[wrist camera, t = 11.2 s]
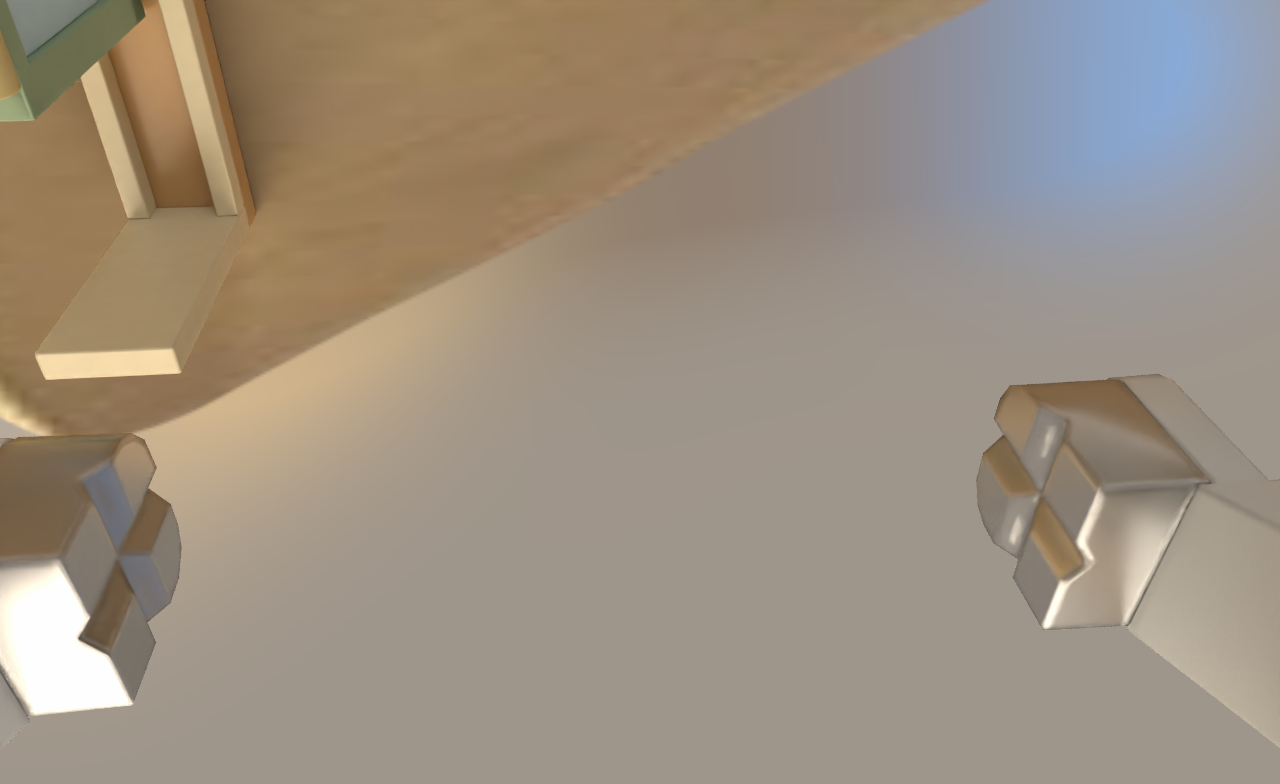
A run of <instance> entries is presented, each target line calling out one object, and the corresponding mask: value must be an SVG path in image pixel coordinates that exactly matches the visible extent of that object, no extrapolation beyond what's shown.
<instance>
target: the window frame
mask: <svg viewBox="0 0 1280 784" xmlns="http://www.w3.org/2000/svg"><path fill="white" fill-rule="evenodd" d="M141 1H142V4H143V8H144V11H145V15H146V17H145V18H144V19H143V20H142V21H141V22H140V23H139V24H138V25H136V26H135V27H134V28H133V29H132V30H131V31H130V32H129V33H128V34H126V35H125V36H124V37H123V38H122V39H121V40H120V41H119V42H118V43H117V44H116V45H115V46H114V47H112V48H111V49H110V50H109V51H108V52H107V53H106V54H105V55H104V56H103V57H102V58H101V59H100V60H98V61H97V62H96V63H95V64H94V65H93V66H92V67H91V68H90V69H89V70H88V71H87V72H86V73H84V74H83V75H82V76H81V77H80V78H81V81H82V84H83V87H84V90H85V93H86V96H87V99H88V102H89V105H90V107H91V110H92V113H93V116H94V119H95V122H96V125H97V128H98V131H99V134H100V137H101V140H102V143H103V146H104V149H105V152H106V155H107V158H108V161H109V164H110V167H111V170H112V173H113V176H114V179H115V182H116V185H117V188H118V191H119V194H120V197H121V200H122V203H123V206H124V209H125V212H126V215H127V218H128V219H129V220H128V221H127V223H126V224H125V226H124V227H123V228H122V230H121V231H120V233H119V234H118V236H117V237H116V238H115V240H114V241H113V243H112V244H111V246H110V247H109V248H108V250H107V251H106V253H105V254H104V255H103V257H102V258H101V260H100V261H99V263H98V264H97V265H96V267H95V268H94V270H93V271H92V273H91V274H90V275H89V277H88V278H87V280H86V281H85V282H84V284H83V285H82V287H81V288H80V290H79V291H78V292H77V294H76V295H75V297H74V298H73V300H72V301H71V302H70V304H69V305H68V307H67V308H66V309H65V311H64V312H63V314H62V315H61V317H60V318H59V319H58V321H57V322H56V324H55V325H54V327H53V328H52V329H51V331H50V332H49V334H48V335H47V336H46V338H45V339H44V341H43V342H42V344H41V345H40V346H39V348H38V349H37V351H36V352H35V357H36V359H37V362H38V364H39V366H40V368H41V371H42V373H43V375H44V377H45V379H47V380H50V379H71V378H92V377H113V376H134V375H156V374H177V373H181V372H182V370H183V368H184V365H185V363H186V361H187V359H188V357H189V355H190V353H191V351H192V349H193V346H194V344H195V342H196V340H197V338H198V336H199V334H200V332H201V330H202V327H203V325H204V323H205V321H206V319H207V317H208V315H209V313H210V310H211V308H212V306H213V304H214V302H215V300H216V298H217V296H218V294H219V291H220V289H221V287H222V285H223V283H224V281H225V279H226V277H227V275H228V272H229V270H230V268H231V266H232V264H233V262H234V260H235V258H236V256H237V253H238V251H239V249H240V247H241V245H242V243H243V241H244V239H245V237H246V234H247V232H248V230H249V228H250V226H251V224H252V222H253V220H254V218H255V216H256V210H255V206H254V202H253V198H252V194H251V190H250V186H249V182H248V178H247V174H246V170H245V166H244V162H243V158H242V153H241V149H240V145H239V141H238V137H237V133H236V129H235V125H234V121H233V117H232V113H231V109H230V105H229V100H228V96H227V92H226V88H225V84H224V80H223V76H222V72H221V68H220V64H219V60H218V56H217V52H216V47H215V43H214V39H213V35H212V31H211V27H210V23H209V19H208V15H207V11H206V7H205V3H204V0H141Z"/></svg>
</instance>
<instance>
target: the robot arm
mask: <svg viewBox="0 0 1280 784" xmlns="http://www.w3.org/2000/svg"><path fill="white" fill-rule="evenodd" d="M994 420H995V422H996V423H997V425H998V427H999V428H1000V430H1001V432H1002V433H1003V436H1002V437H1000V438H999V439H998V440H997V441H996V442H995V443H994V444H993V445H992V446H991V447H990V448H988V449H987V450H986V451H985V452H984V453H983V456H982V460H981V464H980V468H979V472H978V476H977V499H978V507H979V511H980V514H981V517H982V521H983V524H984V526H985V528H986V530H987V532H988V534H989V536H990V537H991V539H992V541H993V543H994V544H995V545H997V546H998V547H1000V548H1002V549H1003V550H1005V551H1006V552H1008V553H1010V554H1011V555H1012V556H1014V557H1015V558H1017V559H1018V562H1017V565H1016V569H1015V572H1014V575H1013V579H1014V580H1015V582H1016V584H1017V586H1018V587H1019V589H1020V591H1021V593H1022V594H1023V596H1024V598H1025V600H1026V601H1027V603H1028V605H1029V606H1030V608H1031V610H1032V612H1033V614H1034V615H1035V617H1036V619H1037V621H1038V622H1039V624H1040V626H1041V627H1042V629H1043V630H1057V629H1074V628H1093V627H1112V626H1129V627H1128V631H1130V632H1131V633H1132V634H1134V635H1135V636H1136V637H1137V638H1139V639H1140V640H1141V641H1143V642H1144V643H1145V644H1147V645H1148V646H1149V647H1150V648H1152V649H1153V650H1154V651H1156V652H1157V653H1158V654H1159V655H1161V656H1162V657H1163V658H1165V659H1166V660H1167V661H1168V662H1170V663H1171V664H1172V665H1174V666H1175V667H1176V668H1177V669H1179V670H1180V671H1181V672H1183V673H1184V674H1185V675H1187V676H1188V677H1189V678H1190V679H1192V680H1193V681H1194V682H1196V683H1197V684H1198V685H1199V686H1201V687H1202V688H1203V689H1205V690H1206V691H1207V692H1208V693H1210V694H1211V695H1212V696H1214V697H1215V698H1216V699H1218V700H1219V701H1220V702H1221V703H1223V704H1224V705H1225V706H1227V707H1228V708H1230V710H1232V711H1233V712H1234V713H1236V714H1237V715H1238V716H1239V717H1241V718H1242V719H1244V720H1245V721H1246V722H1247V723H1249V724H1250V725H1251V726H1252V727H1254V728H1255V729H1256V730H1258V731H1259V732H1260V733H1261V734H1263V735H1264V736H1265V737H1267V738H1268V739H1269V740H1271V741H1272V742H1273V743H1274V744H1276V745H1277V746H1278V747H1280V480H1268V479H1267V478H1266V477H1265V476H1264V475H1263V473H1262V472H1261V471H1260V470H1259V469H1258V468H1257V467H1256V466H1255V465H1254V464H1253V463H1252V462H1251V461H1250V460H1249V459H1248V458H1247V457H1246V456H1245V455H1244V454H1243V453H1242V452H1241V451H1240V450H1239V448H1238V447H1237V446H1236V445H1235V444H1234V443H1233V442H1232V441H1231V440H1230V439H1229V438H1228V437H1227V436H1226V435H1225V434H1224V433H1223V432H1222V431H1221V430H1220V429H1219V428H1218V427H1217V426H1216V425H1215V423H1214V422H1213V421H1212V420H1210V418H1209V417H1208V416H1207V415H1206V414H1205V413H1204V412H1203V411H1202V410H1201V409H1200V408H1199V407H1198V406H1197V405H1196V404H1195V403H1194V402H1193V401H1192V399H1191V398H1190V397H1189V396H1188V395H1187V394H1186V393H1185V392H1184V391H1183V390H1182V389H1181V388H1180V387H1179V386H1178V385H1177V384H1176V383H1175V382H1174V381H1173V380H1171V379H1169V378H1166V377H1164V376H1162V375H1159V374H1151V375H1140V376H1127V377H1115V378H1108V379H1107V380H1094V381H1077V382H1061V383H1044V384H1027V385H1011V386H1009V388H1008V389H1007V390H1006V392H1005V393H1004V394H1003V395H1002V397H1001V398H1000V401H999V404H998V407H997V410H996V413H995V416H994ZM156 468H157V467H156V465H155V463H154V460H153V458H152V456H151V454H150V451H149V449H148V447H147V445H146V442H145V440H144V439H142V438H140V437H138V436H136V435H134V434H132V433H128V434H99V435H70V436H41V437H18V438H16V439H11V438H0V750H1V749H2V748H3V747H4V746H5V745H6V744H7V743H8V742H9V741H10V740H11V739H12V738H13V737H14V736H15V735H16V734H17V733H18V732H19V731H20V730H21V729H22V728H23V727H24V726H25V725H26V724H27V723H29V718H28V716H34V715H43V714H52V713H60V712H70V711H80V710H88V709H99V708H108V707H117V706H126V705H133V703H134V700H135V697H136V695H137V692H138V689H139V687H140V684H141V681H142V679H143V676H144V673H145V671H146V668H147V665H148V662H149V660H150V657H151V655H152V652H153V649H154V646H155V644H156V641H155V639H154V637H153V635H152V632H151V630H150V628H149V625H148V623H147V622H148V621H150V620H151V619H152V618H153V617H154V616H155V615H156V614H158V613H159V612H160V611H161V610H163V609H164V608H165V607H166V606H167V605H168V604H170V602H171V600H172V597H173V594H174V591H175V588H176V585H177V582H178V579H179V571H180V559H181V542H180V535H179V528H178V523H177V520H176V518H175V515H174V512H173V509H172V507H171V504H170V503H168V502H167V501H165V500H164V499H163V498H161V497H160V496H158V495H157V494H156V493H154V492H153V491H151V490H150V489H148V487H149V484H150V482H151V480H152V477H153V475H154V473H155V470H156Z"/></svg>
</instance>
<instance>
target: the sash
mask: <svg viewBox="0 0 1280 784" xmlns="http://www.w3.org/2000/svg"><path fill="white" fill-rule="evenodd" d="M145 17H146V15H145V11H144V8H143V4H142V1H141V0H0V121H34V120H35V119H36V118H38V117H39V116H40V115H41V114H42V113H43V112H44V111H45V110H46V109H47V108H48V107H49V106H50V105H51V104H52V103H53V102H54V101H55V100H56V99H58V98H59V97H60V96H61V95H62V94H63V93H64V92H65V91H66V90H67V89H68V88H69V87H70V86H72V85H73V84H74V83H75V82H76V81H77V80H78V79H79V78H80V77H81V76H82V75H83V74H84V73H86V72H87V71H88V70H89V69H90V68H91V67H92V66H93V65H94V64H95V63H96V62H97V61H98V60H100V59H101V58H102V57H103V56H104V55H105V54H106V53H107V52H108V51H109V50H110V49H111V48H112V47H114V46H115V45H116V44H117V43H118V42H119V41H120V40H121V39H122V38H123V37H124V36H125V35H126V34H128V33H129V32H130V31H131V30H132V29H133V28H134V27H135V26H136V25H138V24H139V23H140V22H141V21H142V20H143V19H144V18H145Z"/></svg>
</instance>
